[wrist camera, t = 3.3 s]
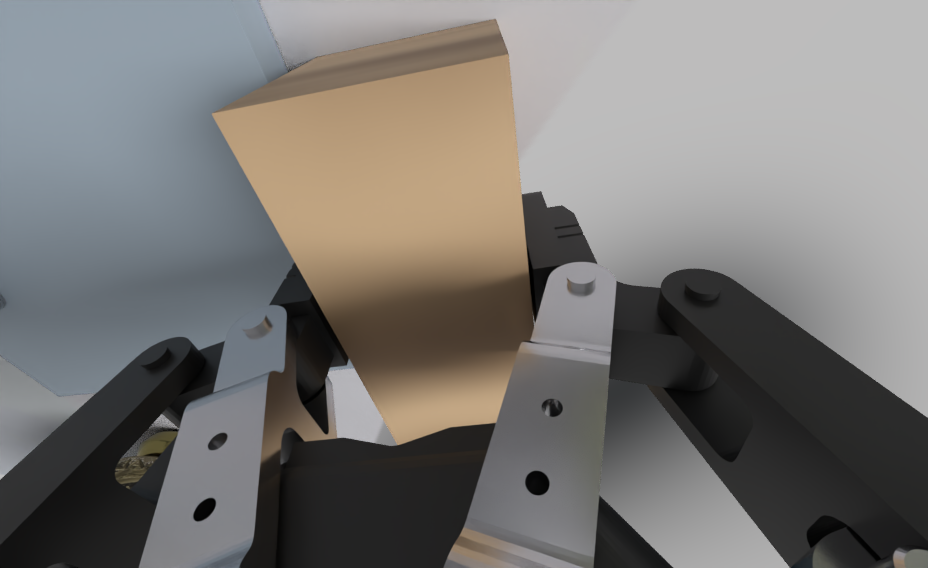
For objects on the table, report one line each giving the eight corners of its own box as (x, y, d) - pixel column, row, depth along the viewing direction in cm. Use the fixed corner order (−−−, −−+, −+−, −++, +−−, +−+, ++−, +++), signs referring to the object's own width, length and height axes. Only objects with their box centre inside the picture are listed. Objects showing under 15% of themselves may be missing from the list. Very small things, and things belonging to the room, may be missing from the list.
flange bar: (318, 56, 10) (211, 114, 6) (495, 18, 9) (509, 53, 5) (418, 330, 16) (398, 446, 12) (527, 318, 15) (544, 436, 11)
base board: (166, -219, 7) (118, -249, 6) (401, 341, 16) (396, 364, 15) (-428, -17, 9) (-532, -16, 8) (79, 375, 18) (58, 396, 17)
